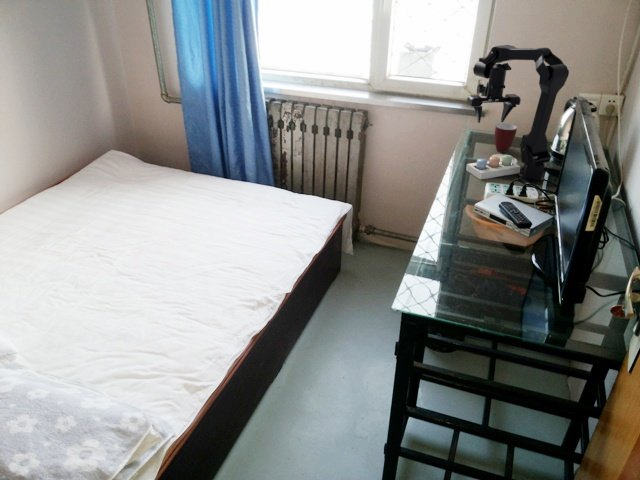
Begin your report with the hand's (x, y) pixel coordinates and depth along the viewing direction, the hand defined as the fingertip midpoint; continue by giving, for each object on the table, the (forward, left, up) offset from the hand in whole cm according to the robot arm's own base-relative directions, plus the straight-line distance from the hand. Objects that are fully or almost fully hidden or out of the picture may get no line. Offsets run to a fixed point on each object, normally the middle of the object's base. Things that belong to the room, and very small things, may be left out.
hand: (490, 122), depth 199 cm
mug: (+3, -11, -14) cm, 18 cm away
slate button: (-15, +12, -11) cm, 22 cm away
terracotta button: (-15, +7, -11) cm, 20 cm away
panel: (-15, +7, -14) cm, 21 cm away
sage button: (-15, +1, -11) cm, 19 cm away
